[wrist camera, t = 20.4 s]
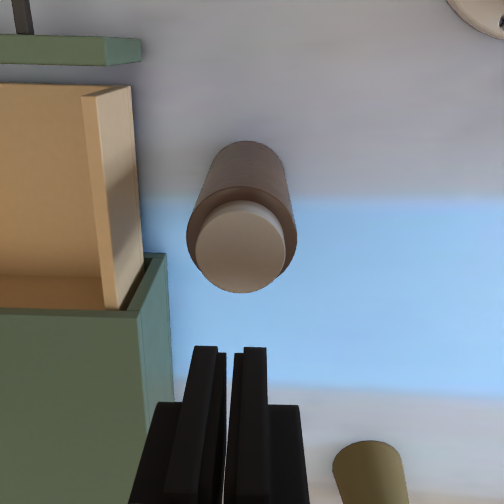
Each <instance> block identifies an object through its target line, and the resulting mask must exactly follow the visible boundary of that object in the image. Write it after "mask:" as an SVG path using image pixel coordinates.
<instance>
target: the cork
mask: <svg viewBox="0 0 504 504" xmlns="http://www.w3.org/2000/svg"><path fill="white" fill-rule="evenodd" d="M332 472H333V475H334V478H335V481H336V484H337V487H338V489H339V492H340V495H341V498H342V501H343V504H409V498H408V493H407V487H406V482H405V476H404V471H403V465H402V461H401V458H400V455H399V453H398V452H397V451H396V450H395V449H394V448H393V447H391V446H389V445H387V444H386V443H382V442H377V441H362V442H358V443H354V444H351V445H350V446H348V447H346V448H344V449H343V450H342V451H341V452H340V453H339V454H338V455H337V456H336V458H335V460H334V462H333V469H332Z"/></svg>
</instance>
